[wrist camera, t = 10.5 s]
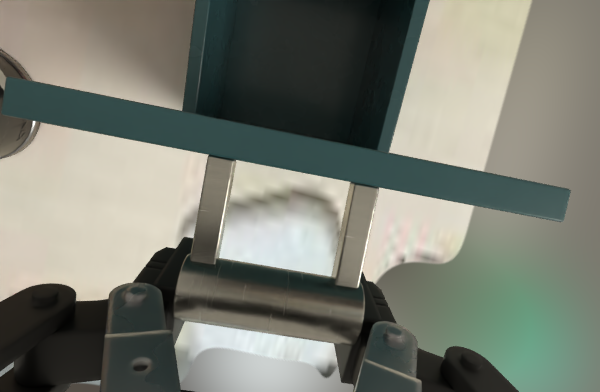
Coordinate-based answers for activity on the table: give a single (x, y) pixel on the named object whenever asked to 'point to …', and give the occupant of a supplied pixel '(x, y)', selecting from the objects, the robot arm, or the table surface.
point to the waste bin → (305, 65)
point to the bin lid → (291, 156)
